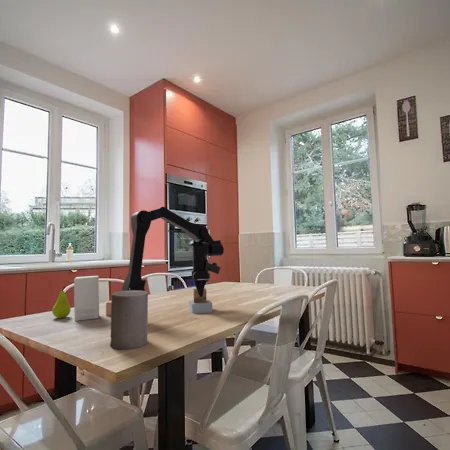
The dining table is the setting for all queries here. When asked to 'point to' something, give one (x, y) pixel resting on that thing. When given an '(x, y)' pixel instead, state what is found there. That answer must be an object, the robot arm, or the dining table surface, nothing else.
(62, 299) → the fruit
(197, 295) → the walnut cube
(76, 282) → the skincare box
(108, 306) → the terracotta cube
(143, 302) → the pillar candle
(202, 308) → the slate slab
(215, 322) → the dining table surface
